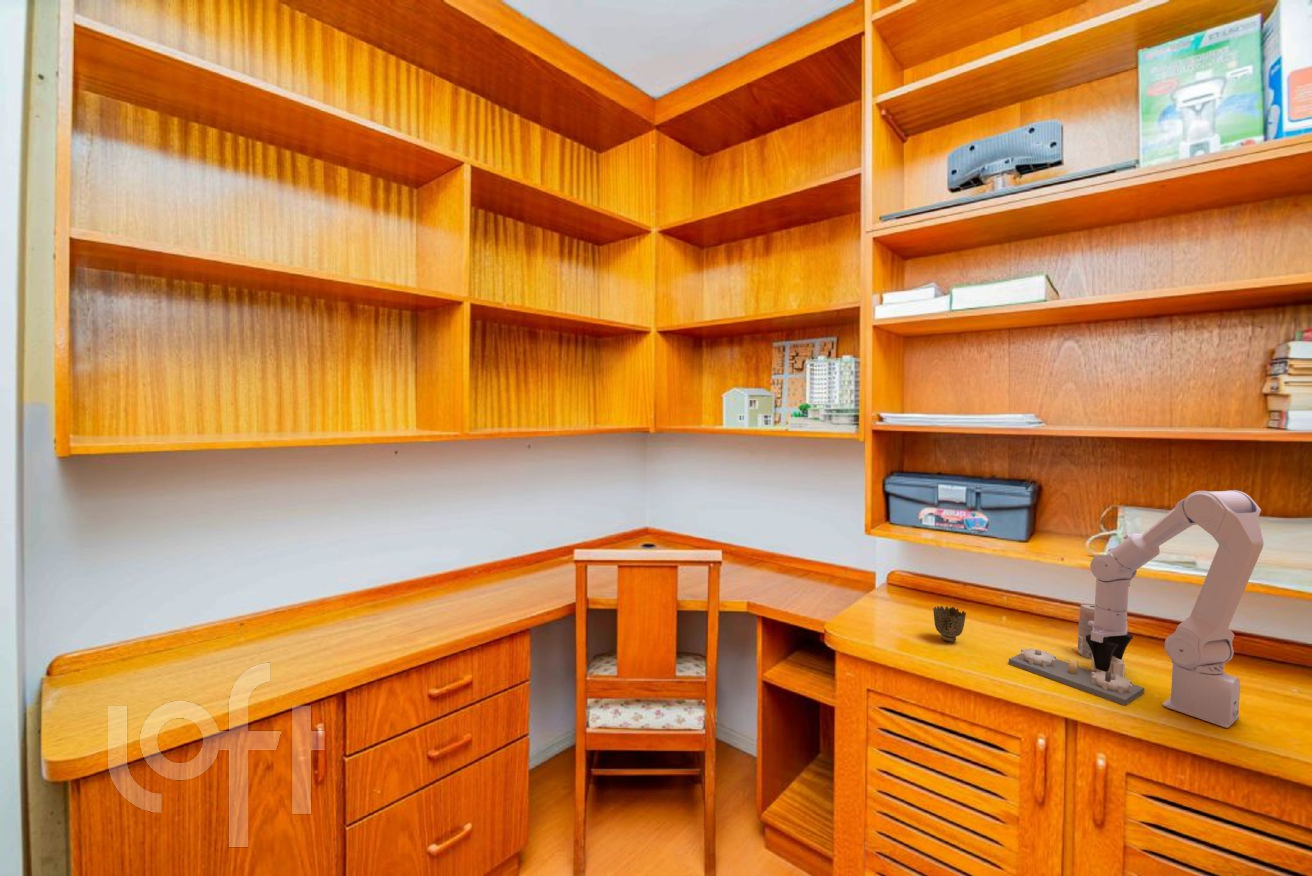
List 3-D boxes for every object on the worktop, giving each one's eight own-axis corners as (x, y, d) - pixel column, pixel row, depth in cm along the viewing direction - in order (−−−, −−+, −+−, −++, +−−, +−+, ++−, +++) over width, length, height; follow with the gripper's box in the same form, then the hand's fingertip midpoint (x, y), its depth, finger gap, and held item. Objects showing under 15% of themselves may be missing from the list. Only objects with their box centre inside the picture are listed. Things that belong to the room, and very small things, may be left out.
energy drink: (1106, 655, 137) (1109, 607, 137) (1103, 662, 133) (1105, 612, 133) (1079, 649, 141) (1082, 601, 140) (1075, 655, 137) (1077, 606, 137)
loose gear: (1128, 674, 127) (1129, 660, 127) (1118, 681, 124) (1118, 666, 123) (1097, 664, 132) (1098, 651, 132) (1086, 670, 129) (1087, 656, 128)
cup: (971, 645, 142) (972, 614, 141) (946, 647, 140) (947, 616, 140) (950, 634, 149) (951, 604, 149) (925, 636, 147) (927, 605, 147)
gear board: (1143, 693, 118) (1145, 672, 118) (1125, 705, 113) (1126, 683, 113) (1029, 654, 137) (1030, 636, 137) (1008, 663, 131) (1009, 644, 131)
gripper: (1102, 597, 134) (1100, 653, 135) (1076, 607, 127) (1073, 666, 127) (1140, 606, 128) (1136, 664, 129) (1114, 617, 121) (1111, 679, 121)
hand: (1107, 666), depth 128 cm, fingers closed on loose gear, 6 cm apart
